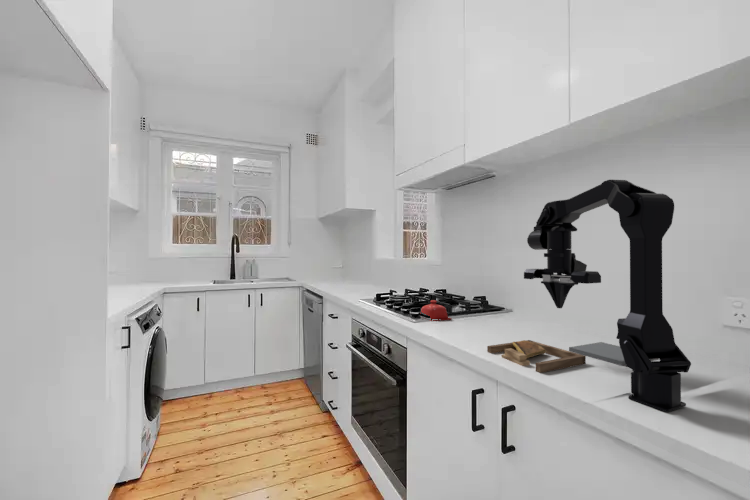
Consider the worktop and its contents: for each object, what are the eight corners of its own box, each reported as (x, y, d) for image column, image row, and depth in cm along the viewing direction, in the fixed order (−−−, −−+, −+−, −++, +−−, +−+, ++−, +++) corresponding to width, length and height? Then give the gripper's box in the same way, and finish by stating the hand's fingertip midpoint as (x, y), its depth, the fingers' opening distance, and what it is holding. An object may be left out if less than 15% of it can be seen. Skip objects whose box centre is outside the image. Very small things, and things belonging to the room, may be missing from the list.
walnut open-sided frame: (585, 363, 86) (585, 355, 86) (540, 372, 80) (540, 364, 80) (529, 346, 102) (529, 340, 102) (487, 353, 95) (487, 346, 95)
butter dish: (414, 319, 146) (414, 299, 146) (438, 317, 150) (437, 297, 150) (428, 324, 135) (428, 302, 135) (453, 322, 139) (453, 301, 140)
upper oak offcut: (526, 361, 85) (526, 355, 85) (519, 361, 85) (519, 355, 85) (511, 354, 91) (511, 348, 91) (504, 354, 91) (504, 348, 91)
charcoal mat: (654, 358, 90) (654, 354, 91) (621, 365, 85) (621, 361, 85) (601, 345, 103) (601, 342, 103) (569, 350, 98) (569, 347, 98)
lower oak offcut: (529, 367, 85) (529, 361, 85) (522, 368, 84) (522, 362, 84) (508, 359, 92) (508, 353, 92) (501, 360, 91) (501, 354, 91)
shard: (524, 360, 87) (525, 353, 87) (498, 349, 93) (499, 342, 93) (546, 354, 94) (547, 348, 94) (520, 344, 100) (521, 338, 100)
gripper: (614, 249, 87) (614, 311, 87) (548, 249, 104) (549, 301, 104) (586, 248, 82) (586, 314, 82) (522, 249, 99) (522, 304, 99)
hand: (559, 308), depth 92 cm, fingers closed
